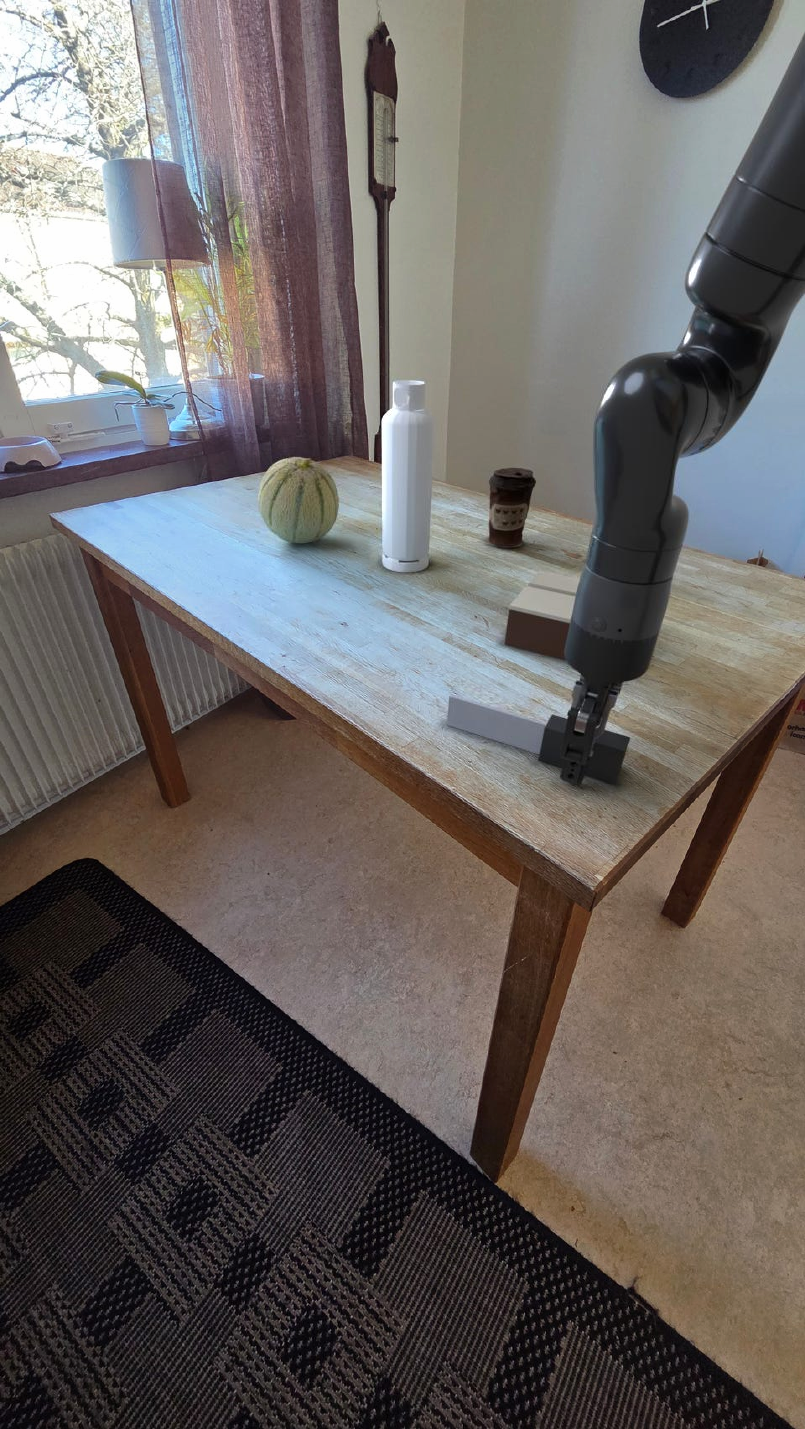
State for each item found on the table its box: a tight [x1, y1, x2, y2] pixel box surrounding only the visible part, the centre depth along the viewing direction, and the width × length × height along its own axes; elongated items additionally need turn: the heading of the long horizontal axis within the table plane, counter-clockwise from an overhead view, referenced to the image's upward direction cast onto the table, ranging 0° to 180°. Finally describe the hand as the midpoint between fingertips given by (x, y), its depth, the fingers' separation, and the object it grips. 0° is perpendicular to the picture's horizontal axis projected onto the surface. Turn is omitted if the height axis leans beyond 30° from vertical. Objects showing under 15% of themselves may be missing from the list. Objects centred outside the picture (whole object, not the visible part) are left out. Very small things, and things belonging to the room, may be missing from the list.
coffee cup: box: [488, 467, 537, 549], centre depth 110 cm, size 9×8×13 cm
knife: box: [446, 693, 631, 786], centre depth 63 cm, size 19×3×4 cm, turn 62°
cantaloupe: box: [257, 456, 340, 544], centre depth 109 cm, size 15×15×15 cm
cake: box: [504, 585, 575, 661], centre depth 82 cm, size 12×7×6 cm, turn 62°
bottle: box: [381, 379, 436, 573], centre depth 97 cm, size 8×8×28 cm
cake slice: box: [528, 570, 580, 596], centre depth 87 cm, size 12×5×6 cm, turn 62°
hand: (579, 760), depth 62 cm, fingers open, 6 cm apart
